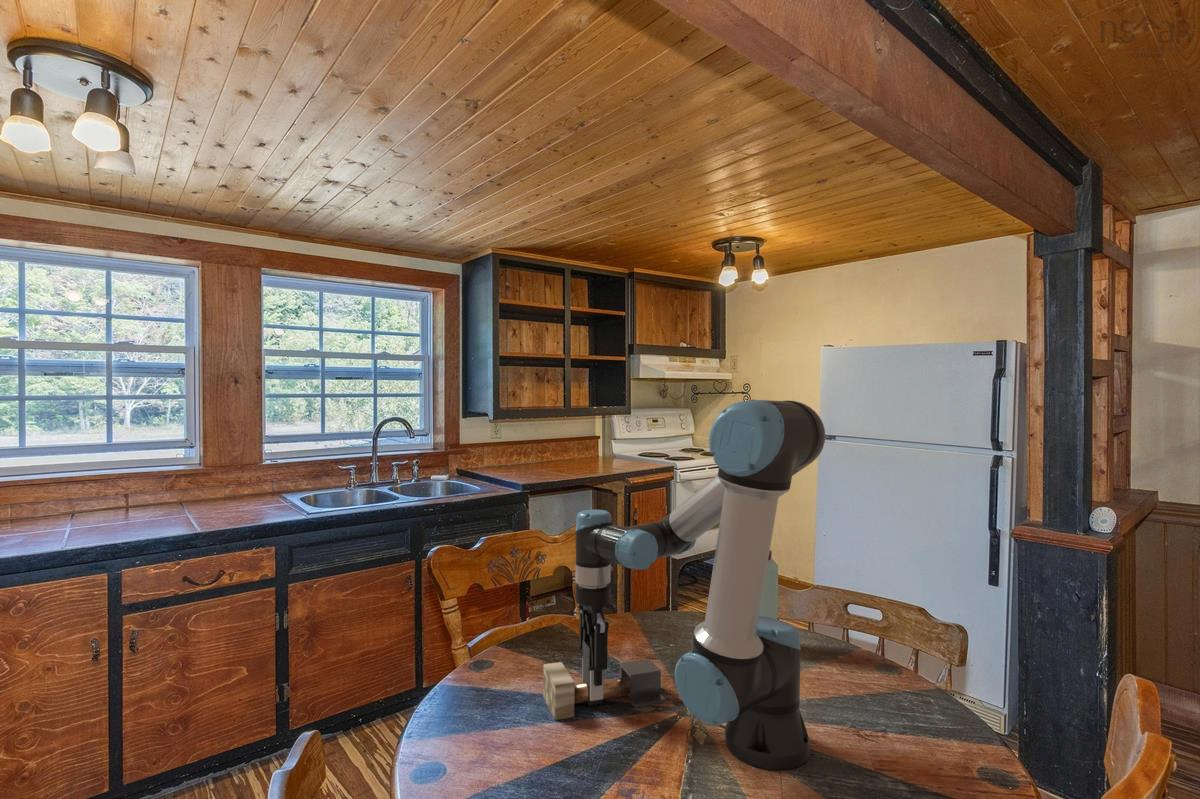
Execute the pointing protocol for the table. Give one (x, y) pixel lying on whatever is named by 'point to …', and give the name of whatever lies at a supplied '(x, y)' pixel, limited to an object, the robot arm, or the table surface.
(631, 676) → the grey block
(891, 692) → the table surface
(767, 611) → the water bottle
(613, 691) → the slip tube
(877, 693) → the table surface
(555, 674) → the socket block
